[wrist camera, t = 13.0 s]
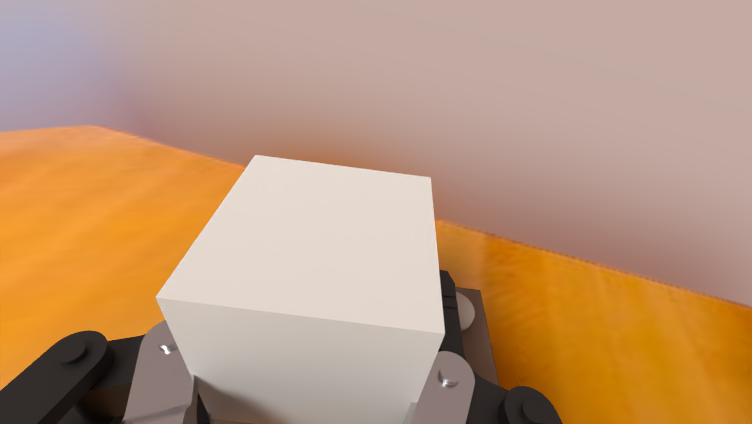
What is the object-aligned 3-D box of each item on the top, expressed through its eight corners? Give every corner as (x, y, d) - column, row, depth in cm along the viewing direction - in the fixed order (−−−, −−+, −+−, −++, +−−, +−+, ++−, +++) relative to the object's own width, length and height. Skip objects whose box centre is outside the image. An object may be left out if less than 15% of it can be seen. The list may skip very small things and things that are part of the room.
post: (386, 359, 16) (430, 177, 10) (379, 495, 12) (445, 334, 6) (278, 346, 16) (255, 155, 10) (237, 477, 12) (155, 297, 6)
